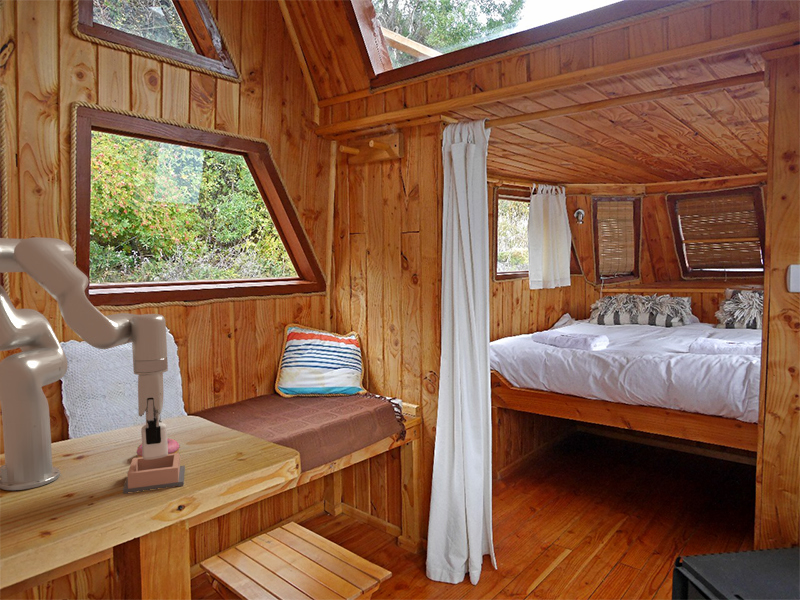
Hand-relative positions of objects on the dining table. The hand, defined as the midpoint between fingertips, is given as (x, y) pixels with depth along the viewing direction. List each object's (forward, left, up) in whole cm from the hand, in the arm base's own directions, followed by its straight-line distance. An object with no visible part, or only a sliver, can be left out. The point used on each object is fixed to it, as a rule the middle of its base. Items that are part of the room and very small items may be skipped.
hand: (154, 439), depth 135 cm
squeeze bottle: (0, 0, -4) cm, 4 cm away
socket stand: (0, 0, -10) cm, 10 cm away
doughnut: (-1, +18, -11) cm, 21 cm away
